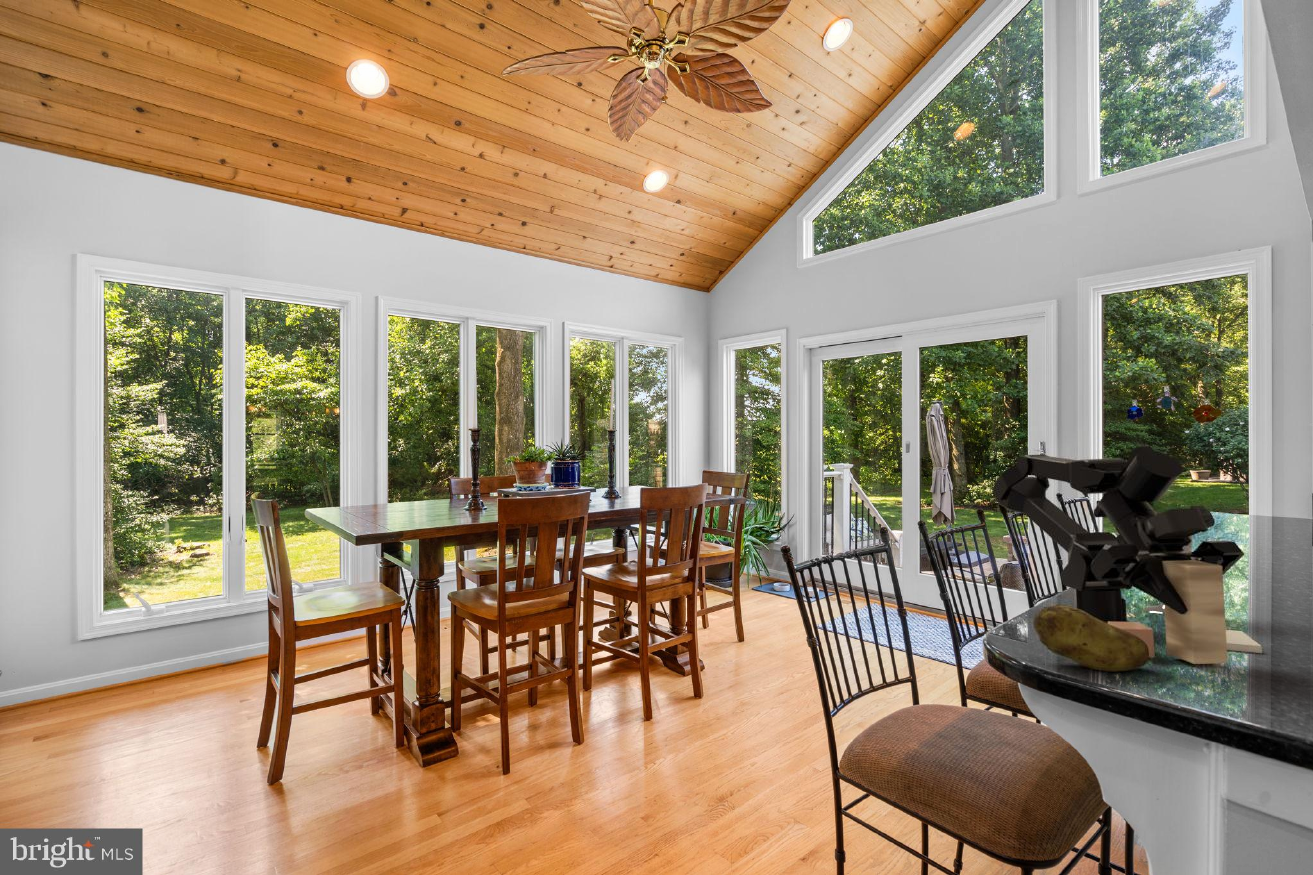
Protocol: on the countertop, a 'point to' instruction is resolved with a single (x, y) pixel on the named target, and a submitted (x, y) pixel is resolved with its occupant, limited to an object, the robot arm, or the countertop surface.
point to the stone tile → (1241, 642)
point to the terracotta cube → (1138, 633)
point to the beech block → (1196, 612)
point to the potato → (1089, 640)
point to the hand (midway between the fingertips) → (1202, 612)
